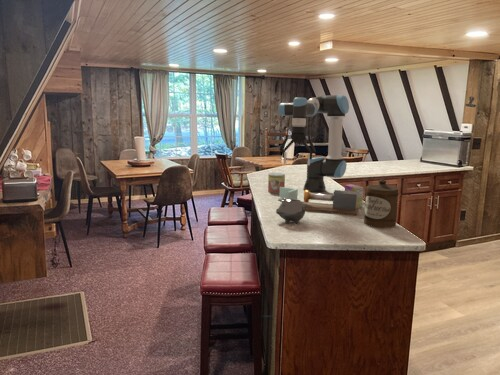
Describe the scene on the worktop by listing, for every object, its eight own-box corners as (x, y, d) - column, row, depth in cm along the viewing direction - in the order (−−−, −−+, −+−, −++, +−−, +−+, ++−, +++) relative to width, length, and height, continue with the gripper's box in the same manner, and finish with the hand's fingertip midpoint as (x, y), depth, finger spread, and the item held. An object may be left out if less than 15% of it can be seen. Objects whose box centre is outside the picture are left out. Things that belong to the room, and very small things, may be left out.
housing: (333, 205, 218) (334, 190, 217) (355, 207, 215) (357, 191, 213) (332, 209, 210) (333, 192, 209) (355, 210, 207) (356, 194, 205)
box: (343, 204, 230) (344, 184, 227) (351, 203, 232) (353, 184, 229) (354, 208, 220) (355, 187, 218) (362, 207, 222) (363, 187, 220)
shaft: (305, 200, 222) (306, 188, 221) (343, 203, 216) (343, 191, 214) (303, 203, 215) (304, 191, 214) (342, 206, 209) (343, 193, 208)
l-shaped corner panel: (279, 198, 245) (280, 186, 243) (297, 200, 239) (297, 188, 237) (270, 201, 235) (271, 189, 233) (288, 204, 228) (289, 192, 227)
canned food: (266, 192, 260) (266, 175, 258) (269, 189, 271) (270, 172, 269) (283, 193, 258) (283, 175, 255) (285, 190, 268) (286, 173, 266)
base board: (294, 203, 229) (294, 201, 228) (357, 208, 218) (358, 206, 218) (289, 209, 214) (289, 207, 213) (356, 215, 203) (357, 212, 203)
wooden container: (357, 223, 188) (360, 179, 184) (372, 218, 198) (376, 176, 194) (386, 230, 177) (390, 183, 173) (401, 224, 188) (405, 179, 184)
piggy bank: (276, 218, 195) (277, 196, 193) (306, 220, 193) (307, 197, 191) (275, 224, 184) (275, 200, 182) (306, 226, 182) (308, 202, 180)
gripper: (275, 125, 214) (273, 163, 217) (320, 126, 207) (318, 166, 210) (278, 125, 221) (276, 162, 224) (322, 127, 214) (319, 165, 218)
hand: (296, 164), depth 217 cm, fingers open, 13 cm apart
